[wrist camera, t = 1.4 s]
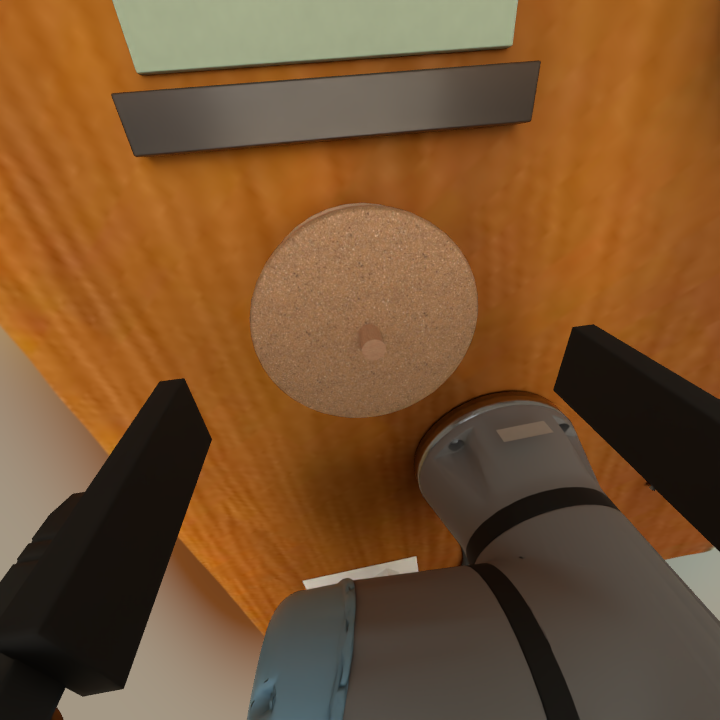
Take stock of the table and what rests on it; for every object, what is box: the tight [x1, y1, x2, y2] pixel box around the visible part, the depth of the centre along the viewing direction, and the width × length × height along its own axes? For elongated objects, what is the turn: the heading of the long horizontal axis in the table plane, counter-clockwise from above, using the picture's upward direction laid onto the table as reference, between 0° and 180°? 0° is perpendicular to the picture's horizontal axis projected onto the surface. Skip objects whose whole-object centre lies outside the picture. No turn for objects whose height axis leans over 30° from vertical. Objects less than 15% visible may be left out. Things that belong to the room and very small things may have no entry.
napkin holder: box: [303, 556, 418, 589], centre depth 42 cm, size 15×11×6 cm
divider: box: [111, 61, 541, 157], centre depth 16 cm, size 2×20×2 cm, turn 95°
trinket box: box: [250, 203, 478, 418], centre depth 18 cm, size 11×11×9 cm
